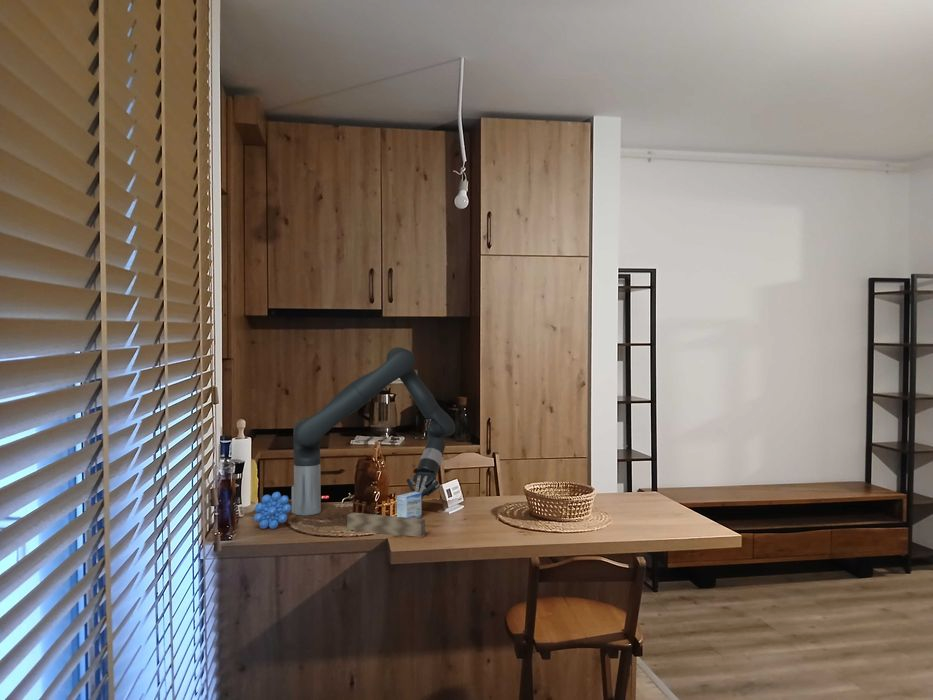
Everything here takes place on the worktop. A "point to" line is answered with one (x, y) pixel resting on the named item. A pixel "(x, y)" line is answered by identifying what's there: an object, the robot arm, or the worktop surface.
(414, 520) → the mottled grey bar
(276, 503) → the blue bumpy cluster
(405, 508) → the medicine box
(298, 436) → the robot arm
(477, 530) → the worktop surface
